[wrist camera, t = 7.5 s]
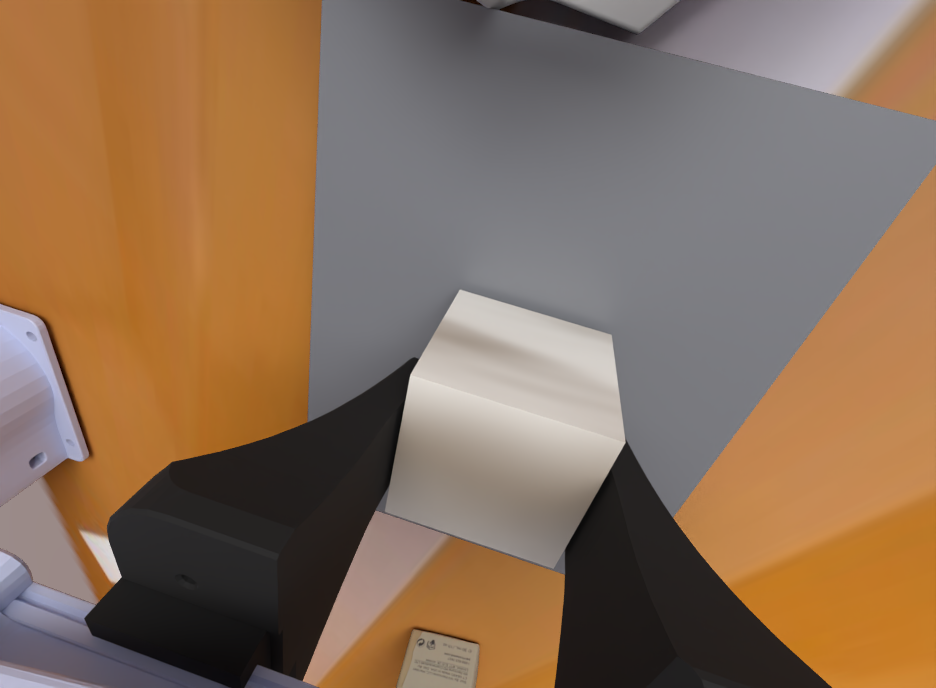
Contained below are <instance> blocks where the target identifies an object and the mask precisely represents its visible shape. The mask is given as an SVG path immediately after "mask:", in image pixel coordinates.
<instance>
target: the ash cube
mask: <svg viewBox="0 0 936 688" xmlns="http://www.w3.org/2000/svg"><path fill="white" fill-rule="evenodd" d="M625 443H626V442H625V434H624V426H623V419H622V411H621V403H620V395H619V388H618V380H617V372H616V365H615V357H614V349H613V341H612V335H611V334H607V333H604V332H601V331H597V330H594V329H591V328H587V327H584V326H581V325H577V324H574V323H570V322H567V321H564V320H560V319H557V318H554V317H550V316H547V315H544V314H540V313H537V312H534V311H530V310H527V309H524V308H520V307H517V306H514V305H510V304H507V303H504V302H500V301H497V300H494V299H490V298H487V297H484V296H480V295H477V294H473V293H470V292H467V291H463V290H459V292H458V294H457V295H456V297H455V299H454V301H453V302H452V304H451V306H450V307H449V309H448V311H447V313H446V314H445V316H444V318H443V319H442V321H441V323H440V325H439V326H438V328H437V330H436V332H435V333H434V335H433V337H432V338H431V340H430V342H429V344H428V345H427V347H426V349H425V350H424V352H423V354H422V356H421V357H420V359H419V361H418V362H417V364H416V366H415V368H414V369H413V371H412V373H411V375H410V379H409V385H408V390H407V395H406V401H405V406H404V411H403V417H402V422H401V427H400V433H399V438H398V443H397V449H396V454H395V459H394V465H393V470H392V475H391V481H390V486H389V492H388V497H387V502H386V508H385V512H387V513H390V514H392V515H395V516H398V517H401V518H404V519H407V520H410V521H413V522H416V523H419V524H422V525H425V526H428V527H431V528H434V529H437V530H440V531H443V532H446V533H449V534H452V535H455V536H458V537H461V538H464V539H466V540H469V541H472V542H475V543H478V544H481V545H484V546H487V547H490V548H493V549H496V550H499V551H502V552H505V553H508V554H511V555H514V556H517V557H520V558H523V559H526V560H529V561H532V562H535V563H538V564H540V565H543V566H546V567H549V568H552V569H554V567H555V566H556V564H557V562H558V560H559V559H560V557H561V555H562V553H563V552H564V550H565V548H566V546H567V545H568V543H569V541H570V539H571V538H572V536H573V534H574V532H575V531H576V529H577V527H578V525H579V523H580V522H581V520H582V518H583V516H584V515H585V513H586V511H587V509H588V508H589V506H590V504H591V502H592V501H593V499H594V497H595V495H596V494H597V492H598V490H599V488H600V487H601V485H602V483H603V481H604V480H605V478H606V476H607V474H608V473H609V471H610V469H611V467H612V466H613V464H614V462H615V460H616V459H617V457H618V455H619V453H620V452H621V450H622V448H623V446H624V444H625Z"/></svg>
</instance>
